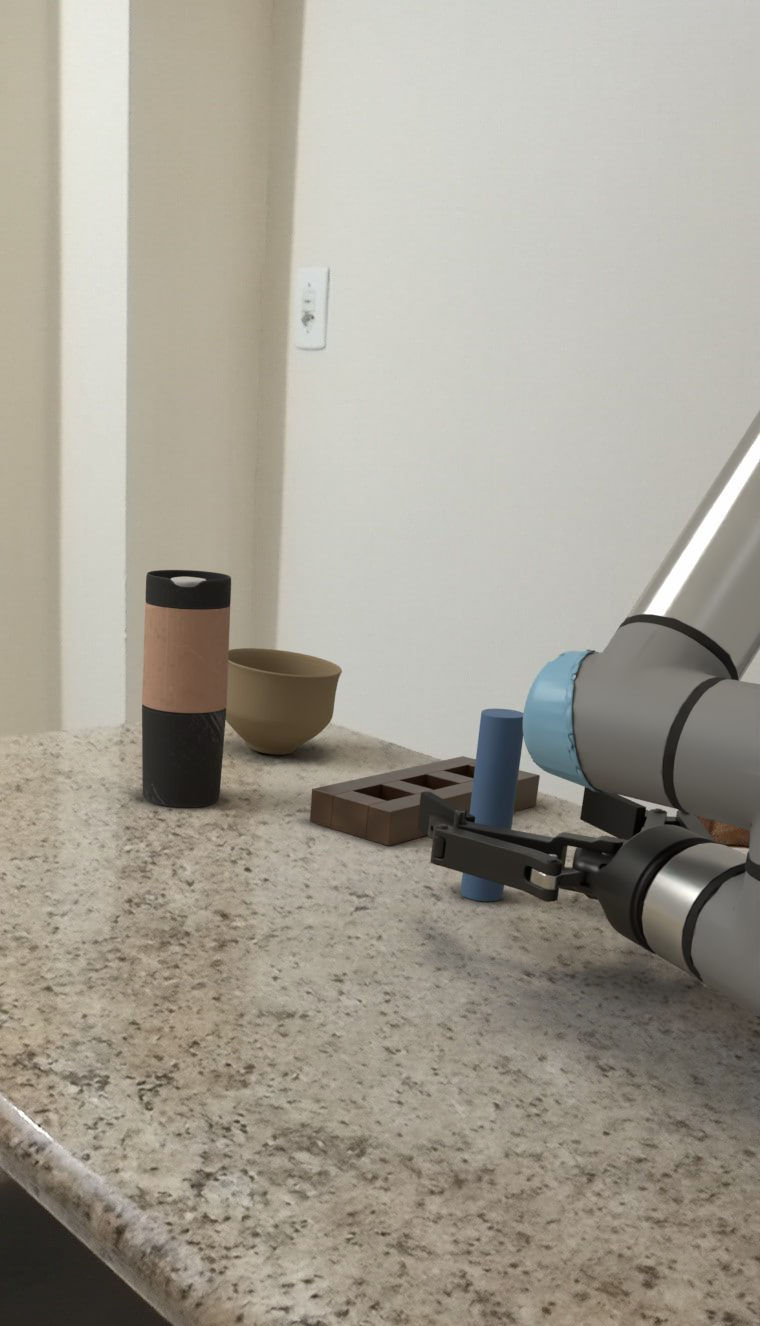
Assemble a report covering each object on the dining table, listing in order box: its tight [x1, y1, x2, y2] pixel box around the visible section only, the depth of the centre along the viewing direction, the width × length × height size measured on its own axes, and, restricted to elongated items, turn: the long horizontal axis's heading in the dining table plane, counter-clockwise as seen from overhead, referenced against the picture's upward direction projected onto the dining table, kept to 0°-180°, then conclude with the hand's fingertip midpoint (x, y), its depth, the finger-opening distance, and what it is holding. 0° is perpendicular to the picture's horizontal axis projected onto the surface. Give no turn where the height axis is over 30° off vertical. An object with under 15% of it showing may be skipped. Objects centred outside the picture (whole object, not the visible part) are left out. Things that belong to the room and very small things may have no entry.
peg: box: [459, 708, 524, 902], centre depth 102 cm, size 3×3×14 cm
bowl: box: [225, 647, 343, 756], centre depth 144 cm, size 13×13×10 cm
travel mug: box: [141, 569, 232, 808], centre depth 124 cm, size 8×8×20 cm
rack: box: [309, 755, 541, 846], centre depth 125 cm, size 9×22×3 cm, turn 134°
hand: (506, 805), depth 100 cm, fingers open, 13 cm apart
